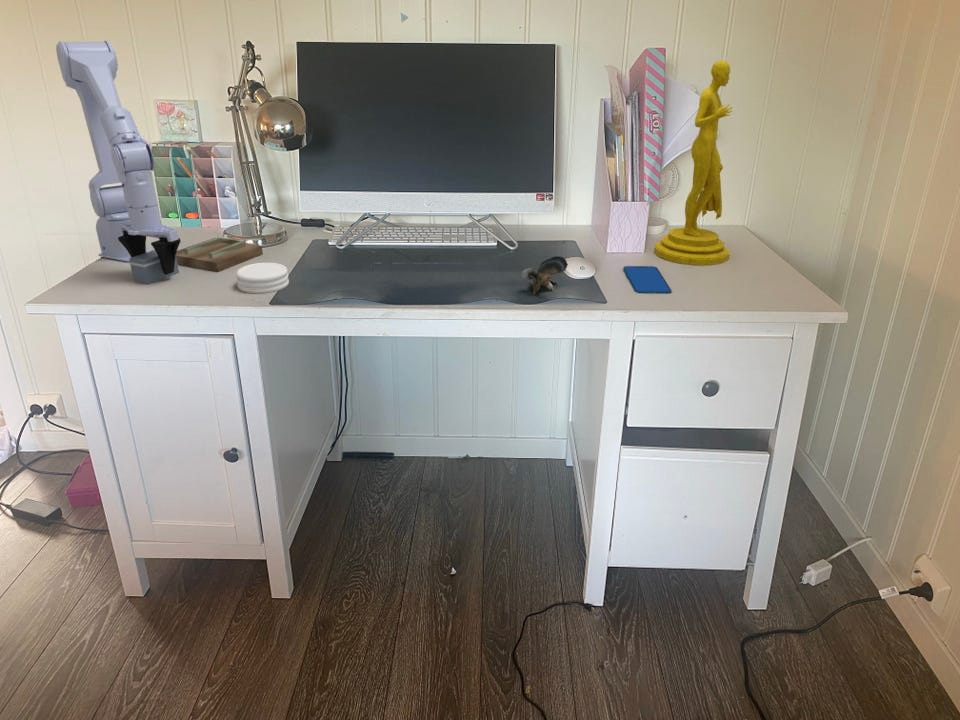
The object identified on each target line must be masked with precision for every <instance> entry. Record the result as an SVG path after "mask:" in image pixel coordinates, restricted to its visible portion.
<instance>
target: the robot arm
mask: <svg viewBox="0 0 960 720" xmlns="http://www.w3.org/2000/svg"><path fill="white" fill-rule="evenodd" d="M55 51H56V56H57V61H58V65H59V69H60V73H61V75H62V76H61V77H62V80H63V82H64V83H65V86H66V87H68V88H70V89H72V90H75V91H76V93H77V96H78V98H79V100H80V105H81V107H82V112H83V115H84V120H85V122H86V126H87V131H88V134H89V138H90V142H91V145H92V149H93V153H94V156H95V160H96V165H97V168H98V172H97V173H96V174H94V176H93V177H92V178H91V179H90V180H89V182H88V189H89V196H90V197H89V198H90V203H91V204H92V209H93V210H94V213H95V215H96V216H98V219H97V220H96V224H95V231H96V235H97V240H98V243H99V247H100V252H101V253H98V255H97V256H98V257H101V258H107V259H112V260H115V261H123V262H129V263H130V261H129V258H132V257H135V256H138V255H141V254H144V253H147V252H150V251H153V250H155V251H156V253H157V255H158V258H159V260H160V264H161V268H162V271H163V273H164V274H165V275H167V274H170V273H173V272H174V266H175V257H176V252H177V251H178V250H179V246H180V244H181V238H180V237H179V234H178V229H173V228H171V227H169V226H167V225H165V224H162V219H161V213H160V207H159V203H158V197H157V191H156V188H155V182H154V178H153V173H152V172H153V171H154V170H155V159H154V155H153V151H152V148H151V146H150V144H149V142H148V141H147V140H146V139H145V137H144V135H141V134H140V132H139V130H138V126H137V125H136V122H135V120H134V118H133V115H132V113H131V112H130V111H129V110H128V109H127V108H124V107H122V103H121V100H120V96H119V94H118V90H117V88H116V85H115V79H116V78H117V72H118V68H119V67H118V66H119V63H118V58H117V57H118V56H117V53H116V51H115V47H114V46H113V44H112V43H110V41H108V40H103V41H61V40H59V41H58V43H57V44H56V47H55ZM114 184H115V186H114ZM116 184H119V185H116ZM107 185H113V186H107ZM147 237H150V238H154V239H158V240H155V241H153V242H150V245H151V247H152V248H153V249H150V248H147V243H146V242H147Z"/></svg>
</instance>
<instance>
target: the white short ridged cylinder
mask: <svg viewBox="0 0 960 720" xmlns="http://www.w3.org/2000/svg"><path fill="white" fill-rule="evenodd" d="M288 272H289V270H288V268H287V267H286V266H285V265H284V264H281V263H278V262H277V263H276V262H258V263H252V264H248V265H247V264H246V265H245V266H242V267H240V268H238V269H237V270H236V272H235V276H236V282H237V288H238V289H239V290H240V291H242V292H244V293H248V294H266V293H267V294H268V293H274V292H278V291H281V290H283V289H285V288H286V287H287V286H289V282H290V280H289V274H288Z"/></svg>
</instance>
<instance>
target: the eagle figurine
mask: <svg viewBox="0 0 960 720" xmlns="http://www.w3.org/2000/svg"><path fill="white" fill-rule="evenodd" d="M568 264H569V263H568V262H567V260H566V258H564V256H558V255H556V256H552V257H550V258H547V259H546V260H544V261H542V262H541V263H540V265H539V267H538V269H537V271H535V270H534V269H533V268H531V267H530V268H529V267H528V268H526V269H524V270H522V271H521V274H520V275H521V277H522V279H524V280H528V281H530V280H532V281H533V283H532V282H529V283H528V286H532V287H533V292H532V294H533V293H535V294H537V293H538V292H539V290H540V288H541V286H544V287H546V288H548V289H549V290H551V289H554V285H553V284H552V283H554V284H557V283H558V282H557V281H554V280H552V279H551V277H553V276H556V275H558V274H560V273H563V272H566V270H567V268H568Z"/></svg>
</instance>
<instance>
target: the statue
mask: <svg viewBox="0 0 960 720" xmlns="http://www.w3.org/2000/svg"><path fill="white" fill-rule="evenodd" d="M710 72H711V73H710V75H711V76H712V79H711V83H710V85H709V86H708V87H707V88H705V89H704V90H703V91H702V92H701V94H700V97H699V104H698V110H697V113H696V116H695V120H694V126H695V127H696V128H699V132H698V134H697V136H696V138H695V139H694V140H693V143H692V145H691V157H692V161H693V174H692V187H691V190H690V192H689V193H688V195H687V198H686V200H685V206H684V207H685V208H684V214H685V224H684V227H676V228H672V229H670V230H669V231H668V233H667V234H666V235H663V236H662V238H661V240H659V241H657V242H656V243H655V244H654V248H653V253H655V255H656V256H658V257H659V258H661V259H664V260H666V261H668V262H673V263H677V264H683V265H691V266H692V265H693V266H712V265H718V264H723V263H725V262H727V261H729V257H730V250H729V249H728V248H727V247H726V246H725V242H724V241H723V240H721V239H720V237H719V236H720V235H719V234H718V233H717V232H715V231H712V230H709V229H706V228H699V227H698V222H697V221H698V217H699V216H700V214H701V215H702V216H701V217H702V218H703V217H704V216H705V215H707V212H714V213H716V216H715V220H717V219H720V218H721V217H722V212H723V211H722V209H723V202H722V201H723V199H722V185H721V184H722V183H721V174H720V173H721V172H722V170H723V169H724V167H723V164H722V163H721V157H720V153H719V151H718V148H717V138H718V127H719V119H721V118H725V117H729V116H731V114H730V113H732V112H733V110H731V109H733V106H730V105H731V103H728V104H727V105H724V104H722V101H721V96H720V95H719V93H718V91H719V89H720V87H726V86H727V84H728V83H729V80H730V73H731V65H730V64H729V62H728V61H725V60H718V61H716V62H714V63H713V65H712V66H711V70H710ZM724 106H725V107H724ZM729 106H730V107H729ZM728 107H729V108H728Z"/></svg>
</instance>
